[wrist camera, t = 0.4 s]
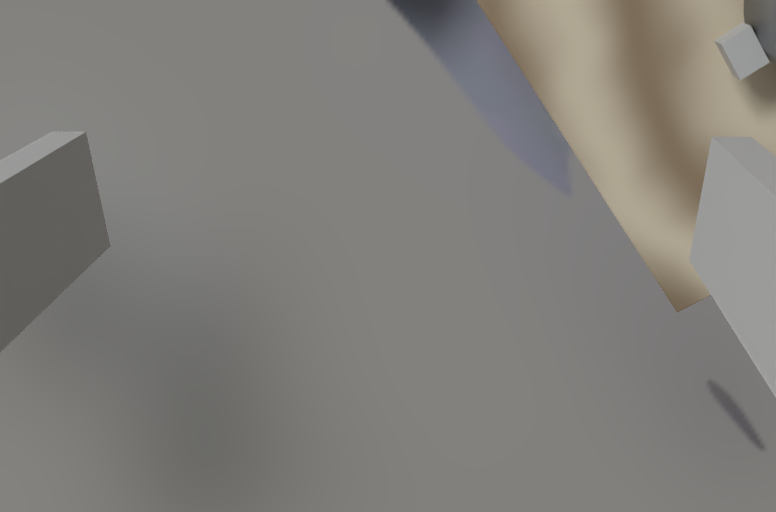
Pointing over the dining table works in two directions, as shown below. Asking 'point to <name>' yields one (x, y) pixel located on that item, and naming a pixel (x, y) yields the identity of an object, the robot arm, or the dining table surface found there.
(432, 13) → the dining table surface
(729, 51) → the uneven dumbbell rattle
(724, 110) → the base board
